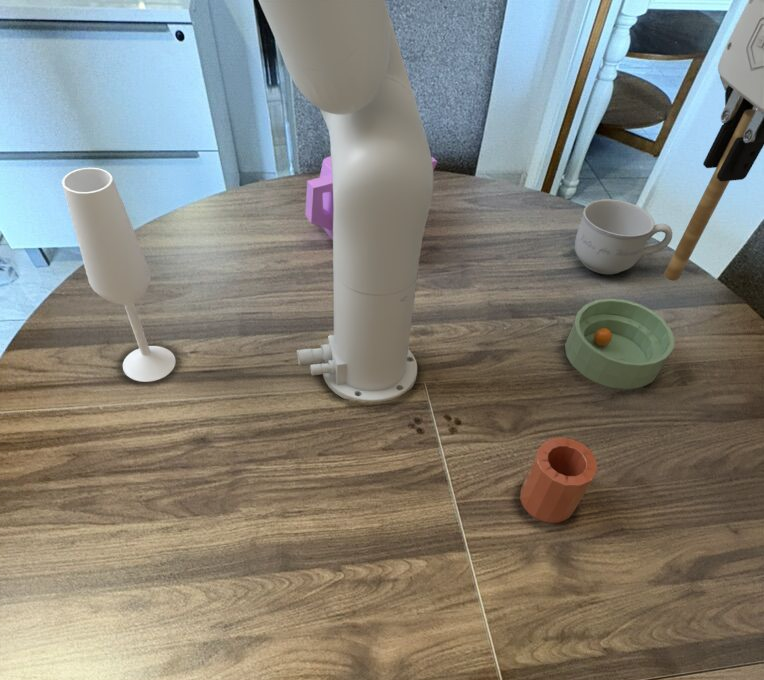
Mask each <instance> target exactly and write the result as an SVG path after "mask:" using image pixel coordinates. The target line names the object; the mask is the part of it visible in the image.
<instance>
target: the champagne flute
mask: <svg viewBox="0 0 764 680" xmlns="http://www.w3.org/2000/svg"><path fill="white" fill-rule="evenodd" d="M61 185H62V189H63V192H64V193H63V194H64V195H65V196H64V197H65V201H66V203H67V207H68V211H69V214H70V219H71V223H72V225H73V229H74V233H75V237H76V240H77V244H78V247H79V251H80V255H81V259H82V262H83V266H84V270H85V273H86V277H87V281H88V284H89V286H90V288H91V289H92V290H93V291H94V292H95V294H97V295H98V296H99V297H101V298H103V299H104V300H106V301H108V302H110V303H113V304H117V305H120V306H124V308H125V312H126V315H127V317H128V320H129V323H130V326H131V329H132V332H133V335H134V338H135V340H136V343H137V347H138V348H136V349H134V350H132V351H131V352H130V353H129V354H127V356H126V357H125V358H124V360H123V362H122V369H123V370H122V371H123V372H124V374H125V375H126V376H127V377H128V378H130V380H131V379H132V380H133V381H137V382H143V383H148V382H155V381H158V380H161V379H164V378H165V377H167V376H168V375H169V374H171V372H172V371H173V370H174V368H175V367H176V357H175V355H174V353H173V352H172V351H171V350H169V349H168V348H166V347H163V346H159V345H149V344H148V341H147V338H146V335H145V331H144V328H143V325H142V322H141V320H140V319H141V318H140V316H139V313H138V310H137V307H136V304H135V303H137V302H138V301H140V299H141V298H142V297H143V296H145V294H146V293H147V291H148V289H149V287H150V283H151V280H152V274H151V273H152V272H151V269H150V266H149V264H148V262H147V259H146V257H145V254H144V252H143V250H142V247H141V245H140V242H139V239H138V238H137V235H136V231H135V230H134V227H133V225H132V222H131V220H130V217H129V215H128V213H127V210H126V207H125V205H124V202H123V200H122V198H121V194H120V193H119V190H118V187H117V185H116V183H115V179H114V178H113V175H112V174H111V173H110V172H109V171H107V170H105V169H103V168H99V167H82V168H77V169H75V170H72V171H70V172H68V173H67V174H65V175H64V177H63V178H62V179H61Z"/></svg>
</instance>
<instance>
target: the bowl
mask: <svg viewBox="0 0 764 680" xmlns="http://www.w3.org/2000/svg"><path fill="white" fill-rule="evenodd" d="M602 328H606V329H608V330H610V331H611V333H612V339H611V341H610V343H609V344H607V345H605V346H599V345H597V344H596V343H595V341H594V335H595V333H596V332H597V331H598V330H599V329H602ZM675 340H676V339H675V337H674V333H673V330H672V329H671V327H670V326H669V324H668V323H667V321H666V320H665V319H664V318H663V317H662V316H660V315H659V314H658V313H656V312H655V311H654V310H652V309H650V308H648V307H646V306H645V305H642V304H640V303H637V302H634V301H631V300H630V301H629V300H627V299H621V298H611V297H610V298H602V299H596V300H593V301H590V302H588V303H586V304H584V305H583V306H582V307H581V308H580V309H579V310H578V311H577V312H576V314H575V318H574V320H573V322H572V325H571V328H570V331H569V333H568V335H567V338H566V341H565V344H564V349H565V354H566V358H567V359H568V362H569V364H570V365H571V366H572V367H573V368H574V369H575V370H577V371H578V372H579V373H580V374H581V375H582V376H584V377H585V378H587V379H588V380H591V381H592V382H594V383H596V384H599V385H602V386H605V387H608V388H612V389H622V390H632V389H637V388H643V387H645V386H647V385H649V384H651V383H653V382H654V380H655V379H656V378H657V377H658V376H659V374H660V373H661V371H662V370H663V367H664V366H665V365H666V362H667V361H668V359H669V357H670V356H671V355H672V353H673V351H674V346H675Z"/></svg>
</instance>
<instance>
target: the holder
mask: <svg viewBox="0 0 764 680" xmlns="http://www.w3.org/2000/svg"><path fill="white" fill-rule="evenodd" d="M597 473H598V460H597V459H596V457H595V455H594V453H593V451H592V450H591V449H590V448H589V447H587V446H586V445H585V444H583V443H582V442H580V441H577V440H575V439H572V438H569V437H553V438H551V439H548V440H546V441H544V442H543V443H542V444H541V445H540V446H539V448H538V449H537V451H536V453H535V454H534V457H533V460H532V463H531V465H530V467H529V469H528V472H527V474H526V476H525V479H524V480H523V483H522V486H521V488H520V495H519V500H520V502H521V505H522V507H523V508H524V510H525V511H526V512H527V513H528V514H529V515H530V516H531V517H532V518H534V519H536V520H538V521H540V522H544V523H551V524H552V523H553V524H555V523H561V522H564V521H566V520H567V519H570V518H571V517H572V515H573V514H574V512H575V511H576V509H577V508H578V506H579V504H580V502H581V501H582V499H583V498H584V495H585V494H586V492H587V491H588V489H589V487H590V485H591V484H592V482H593V481H594V478H595V477H596V475H597Z"/></svg>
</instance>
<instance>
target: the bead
mask: <svg viewBox="0 0 764 680" xmlns="http://www.w3.org/2000/svg"><path fill="white" fill-rule="evenodd" d="M611 339H612V333H611V331H610V330H608V329H606V328H602V329H599V330H598V331H597V332H596V333H595V335H594V341H595V343H596V344H597V345H599V346H605V345H607V344H609V343H610V341H611Z"/></svg>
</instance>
